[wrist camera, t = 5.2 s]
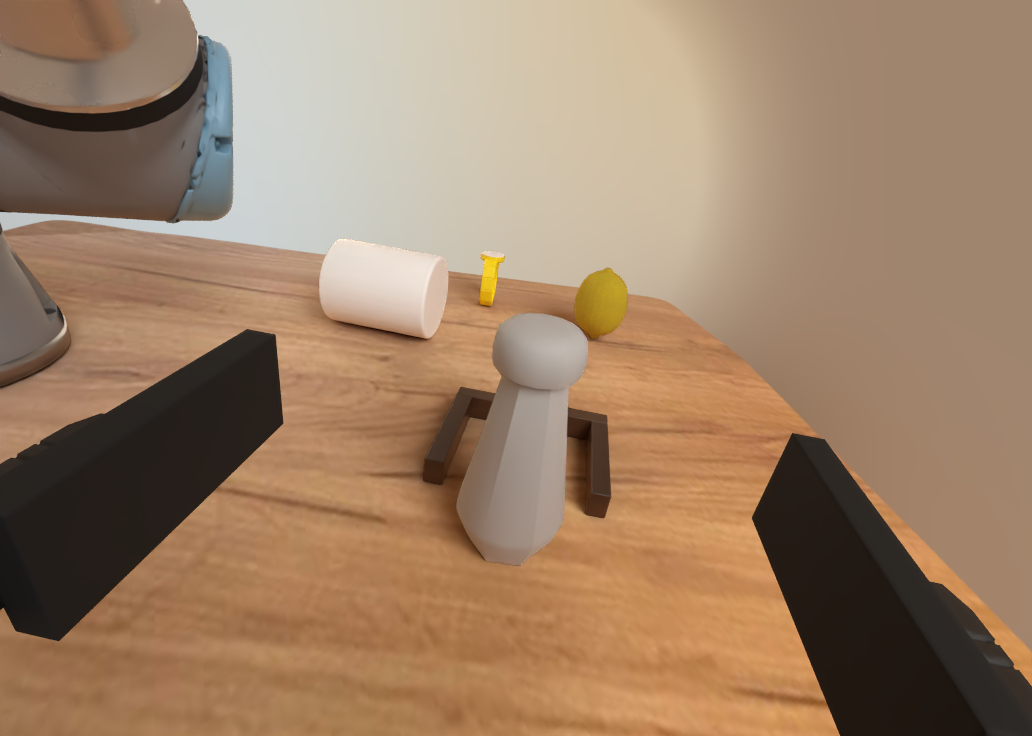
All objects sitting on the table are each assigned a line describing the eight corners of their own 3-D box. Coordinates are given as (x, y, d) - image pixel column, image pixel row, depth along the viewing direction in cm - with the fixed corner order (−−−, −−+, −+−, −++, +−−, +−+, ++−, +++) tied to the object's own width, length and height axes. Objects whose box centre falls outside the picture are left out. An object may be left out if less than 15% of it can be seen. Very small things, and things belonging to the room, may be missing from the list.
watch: (495, 312, 58) (502, 262, 55) (472, 309, 57) (477, 258, 55) (500, 296, 63) (506, 249, 60) (478, 292, 63) (484, 246, 60)
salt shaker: (436, 557, 26) (458, 329, 20) (474, 488, 31) (501, 290, 25) (543, 594, 25) (601, 366, 19) (565, 517, 30) (616, 317, 24)
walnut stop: (422, 481, 31) (424, 458, 30) (458, 405, 39) (460, 386, 38) (604, 519, 30) (611, 496, 29) (602, 434, 38) (607, 414, 37)
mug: (420, 352, 46) (425, 269, 42) (319, 331, 47) (315, 248, 43) (455, 309, 57) (462, 240, 53) (372, 293, 57) (373, 223, 54)
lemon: (612, 354, 52) (631, 280, 48) (562, 339, 53) (577, 267, 50) (621, 336, 57) (639, 268, 53) (575, 323, 58) (589, 256, 54)
